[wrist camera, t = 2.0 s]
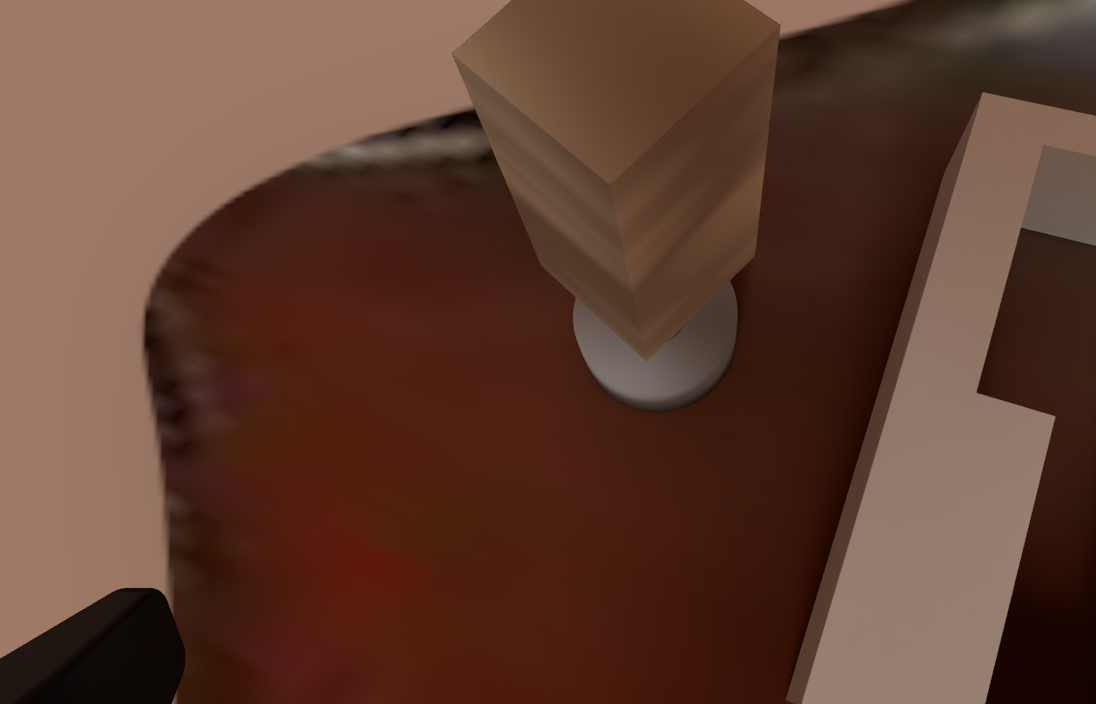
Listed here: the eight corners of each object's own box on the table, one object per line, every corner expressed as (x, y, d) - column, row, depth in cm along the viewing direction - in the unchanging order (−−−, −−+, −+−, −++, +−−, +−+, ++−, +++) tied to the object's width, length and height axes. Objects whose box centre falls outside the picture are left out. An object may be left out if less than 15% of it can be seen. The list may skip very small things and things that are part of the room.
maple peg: (659, 443, 22) (609, 224, 11) (552, 341, 24) (413, 56, 13) (768, 334, 23) (824, 21, 12) (657, 241, 24) (612, -120, 13)
